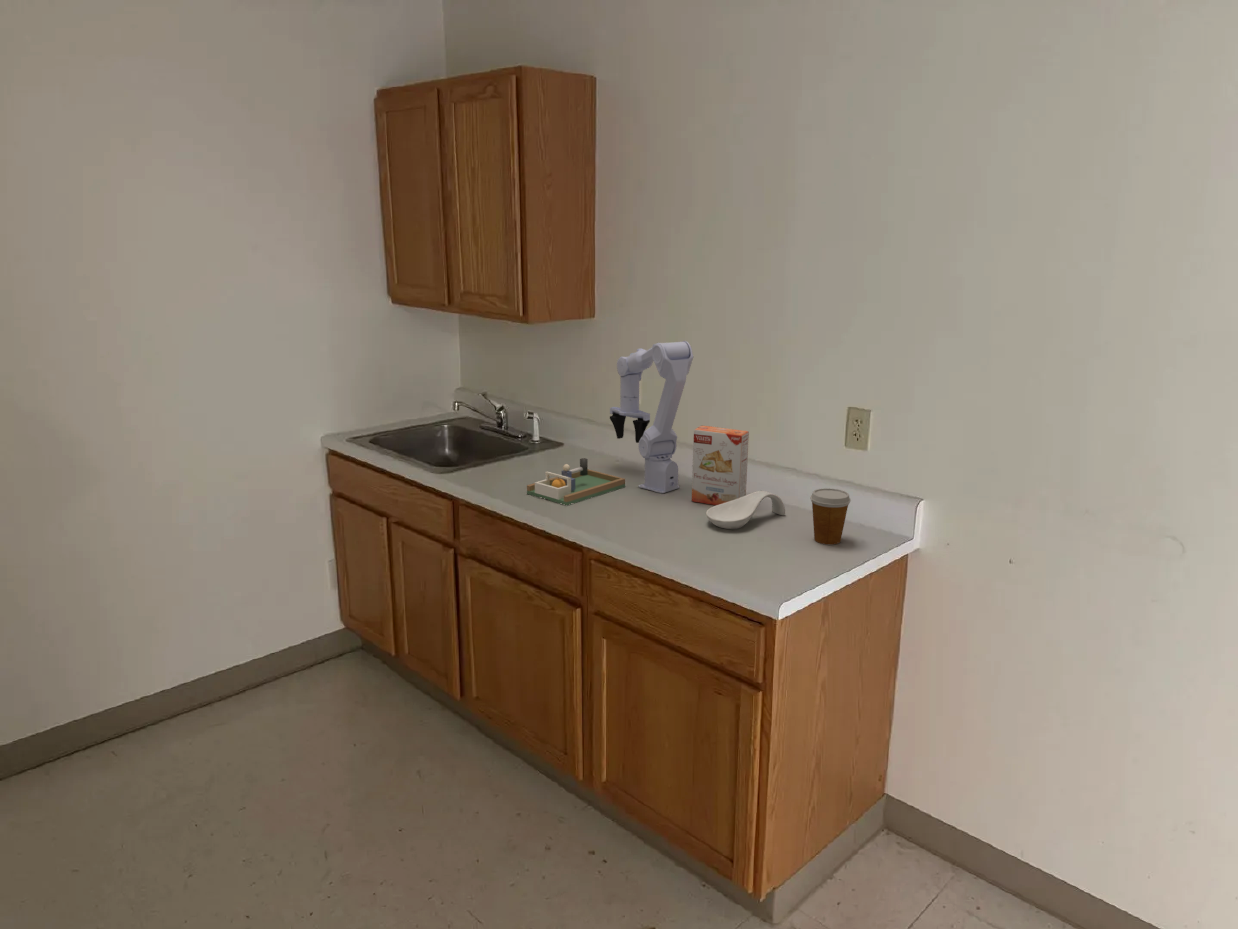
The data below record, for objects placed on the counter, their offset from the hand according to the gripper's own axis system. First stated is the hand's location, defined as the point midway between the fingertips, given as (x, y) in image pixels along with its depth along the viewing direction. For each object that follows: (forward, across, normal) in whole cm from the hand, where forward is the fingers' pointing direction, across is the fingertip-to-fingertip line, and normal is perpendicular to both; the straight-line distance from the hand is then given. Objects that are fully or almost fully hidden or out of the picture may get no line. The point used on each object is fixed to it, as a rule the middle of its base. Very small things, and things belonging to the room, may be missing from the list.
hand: (629, 440), depth 273 cm
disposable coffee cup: (+11, +75, -12) cm, 77 cm away
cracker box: (+11, +38, -6) cm, 40 cm away
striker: (+9, +1, -25) cm, 26 cm away
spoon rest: (+11, +52, -13) cm, 55 cm away
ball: (+7, +1, -31) cm, 32 cm away
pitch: (+10, +1, -24) cm, 26 cm away
